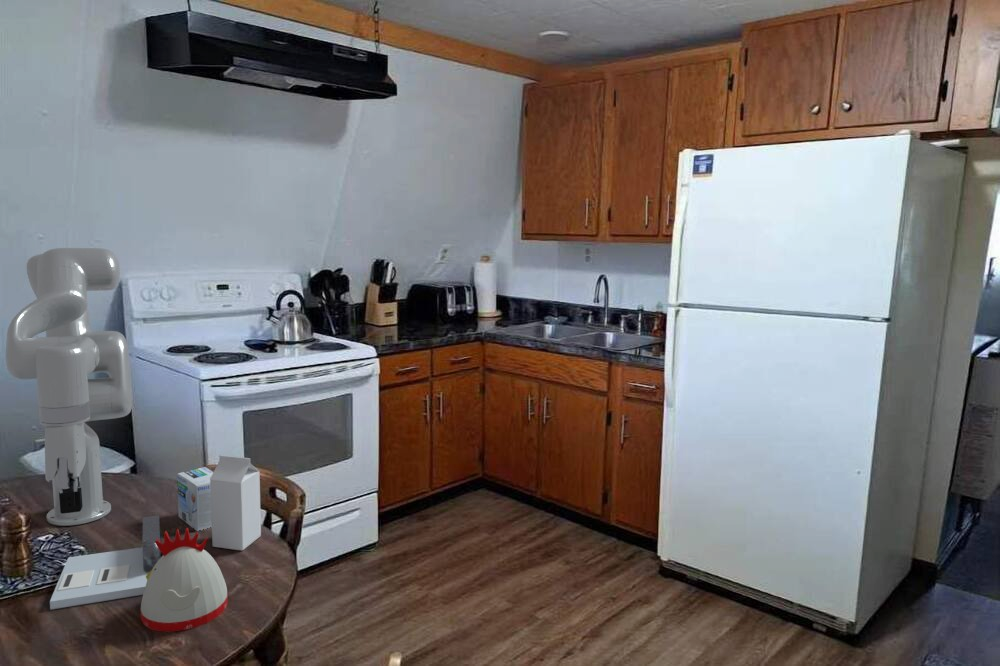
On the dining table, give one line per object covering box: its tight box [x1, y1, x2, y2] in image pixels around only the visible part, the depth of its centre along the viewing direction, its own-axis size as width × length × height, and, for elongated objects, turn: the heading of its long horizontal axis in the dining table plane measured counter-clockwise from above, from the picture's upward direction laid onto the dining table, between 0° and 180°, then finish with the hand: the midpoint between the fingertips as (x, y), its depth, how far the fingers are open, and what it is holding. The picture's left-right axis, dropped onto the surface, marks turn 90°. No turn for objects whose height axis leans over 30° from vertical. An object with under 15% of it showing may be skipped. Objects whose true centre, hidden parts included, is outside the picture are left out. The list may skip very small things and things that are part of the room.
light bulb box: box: [176, 466, 214, 532], centre depth 154 cm, size 11×7×11 cm, turn 47°
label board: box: [49, 546, 149, 610], centre depth 128 cm, size 17×15×2 cm
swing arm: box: [141, 514, 162, 572], centre depth 135 cm, size 3×16×5 cm, turn 27°
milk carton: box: [210, 454, 262, 551], centre depth 143 cm, size 7×7×19 cm
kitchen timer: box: [140, 527, 228, 633], centre depth 118 cm, size 14×14×15 cm
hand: (71, 510), depth 123 cm, fingers closed
